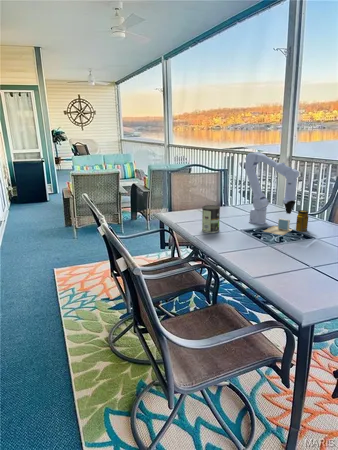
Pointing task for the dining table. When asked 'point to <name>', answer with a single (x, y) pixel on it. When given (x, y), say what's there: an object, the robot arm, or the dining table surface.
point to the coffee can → (210, 218)
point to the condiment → (302, 221)
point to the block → (283, 224)
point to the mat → (277, 230)
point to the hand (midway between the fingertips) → (288, 213)
